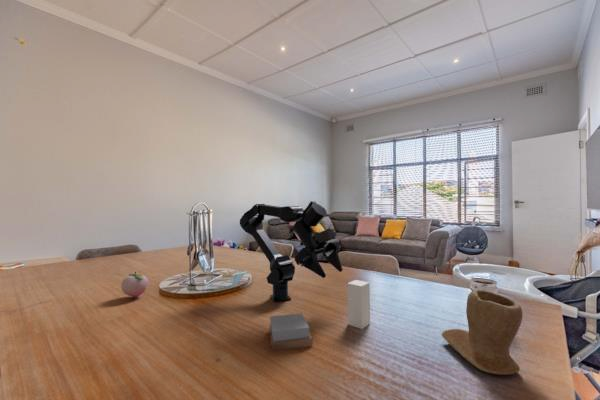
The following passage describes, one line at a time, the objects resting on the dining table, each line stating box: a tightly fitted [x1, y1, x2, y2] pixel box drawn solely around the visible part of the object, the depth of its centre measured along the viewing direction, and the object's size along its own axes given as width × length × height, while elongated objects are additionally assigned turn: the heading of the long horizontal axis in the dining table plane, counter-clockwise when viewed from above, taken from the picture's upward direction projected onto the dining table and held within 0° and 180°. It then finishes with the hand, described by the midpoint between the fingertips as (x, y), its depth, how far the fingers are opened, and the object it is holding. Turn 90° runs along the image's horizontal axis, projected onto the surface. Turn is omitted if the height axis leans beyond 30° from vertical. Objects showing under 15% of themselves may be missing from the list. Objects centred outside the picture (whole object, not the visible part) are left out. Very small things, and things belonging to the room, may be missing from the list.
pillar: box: [347, 279, 371, 330], centre depth 80 cm, size 5×5×12 cm
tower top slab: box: [269, 313, 310, 342], centre depth 72 cm, size 9×9×2 cm
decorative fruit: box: [121, 271, 150, 298], centre depth 106 cm, size 9×8×10 cm
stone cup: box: [441, 290, 523, 376], centre depth 62 cm, size 15×12×15 cm
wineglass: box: [469, 277, 499, 294], centre depth 80 cm, size 7×7×12 cm
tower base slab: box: [269, 325, 313, 351], centre depth 72 cm, size 10×10×2 cm
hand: (333, 274), depth 87 cm, fingers open, 9 cm apart
